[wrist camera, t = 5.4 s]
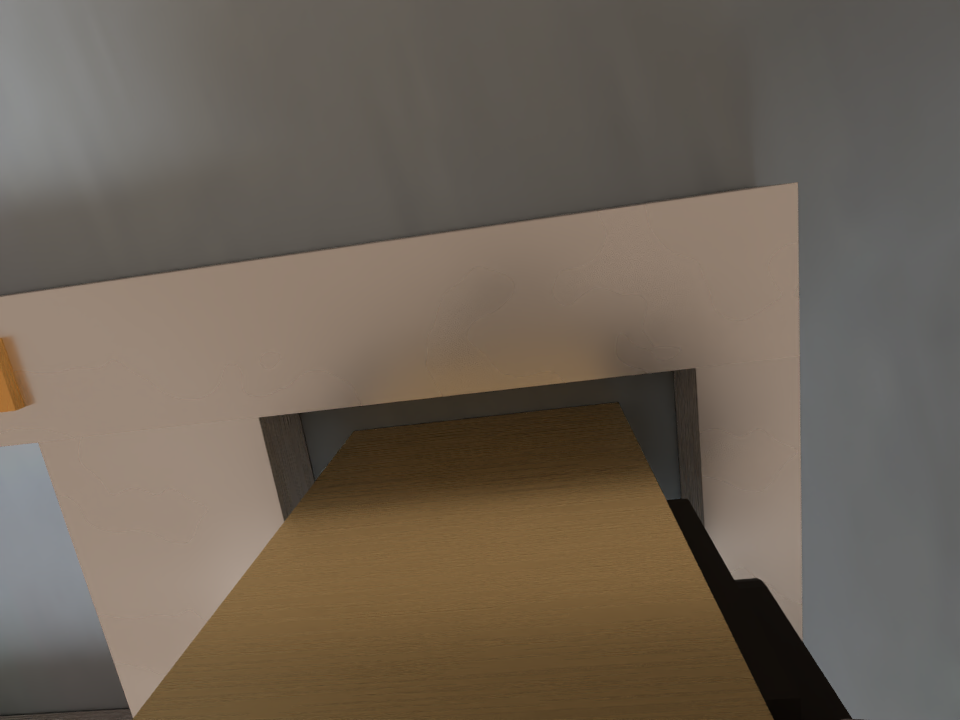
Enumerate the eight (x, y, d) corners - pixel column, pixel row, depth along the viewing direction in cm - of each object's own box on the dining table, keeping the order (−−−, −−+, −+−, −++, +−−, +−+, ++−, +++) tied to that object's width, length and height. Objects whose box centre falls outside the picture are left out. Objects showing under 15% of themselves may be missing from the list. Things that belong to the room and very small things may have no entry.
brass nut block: (618, 402, 11) (872, 923, 3) (638, 635, 12) (858, 1448, 4) (354, 430, 11) (-34, 934, 3) (399, 650, 12) (188, 1394, 5)
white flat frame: (755, 187, 9) (804, 181, 8) (771, 769, 12) (809, 855, 11) (-323, 341, 12) (-461, 363, 10) (-100, 805, 15) (-180, 881, 13)
